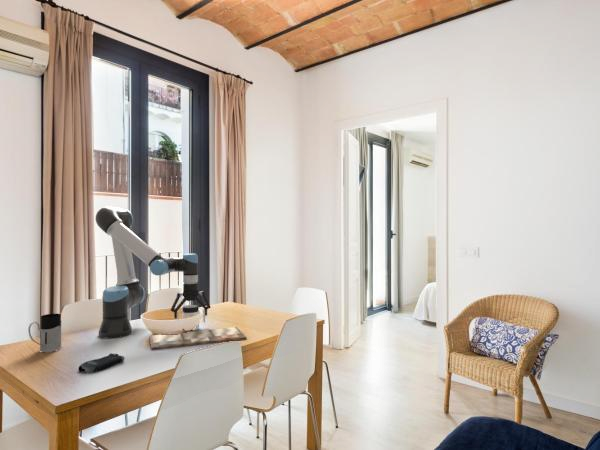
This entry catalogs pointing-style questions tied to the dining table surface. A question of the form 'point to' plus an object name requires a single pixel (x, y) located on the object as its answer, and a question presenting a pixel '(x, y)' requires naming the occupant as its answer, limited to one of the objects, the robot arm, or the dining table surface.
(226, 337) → the board
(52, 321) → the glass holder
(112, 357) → the electronic device
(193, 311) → the jar
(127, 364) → the dining table surface
